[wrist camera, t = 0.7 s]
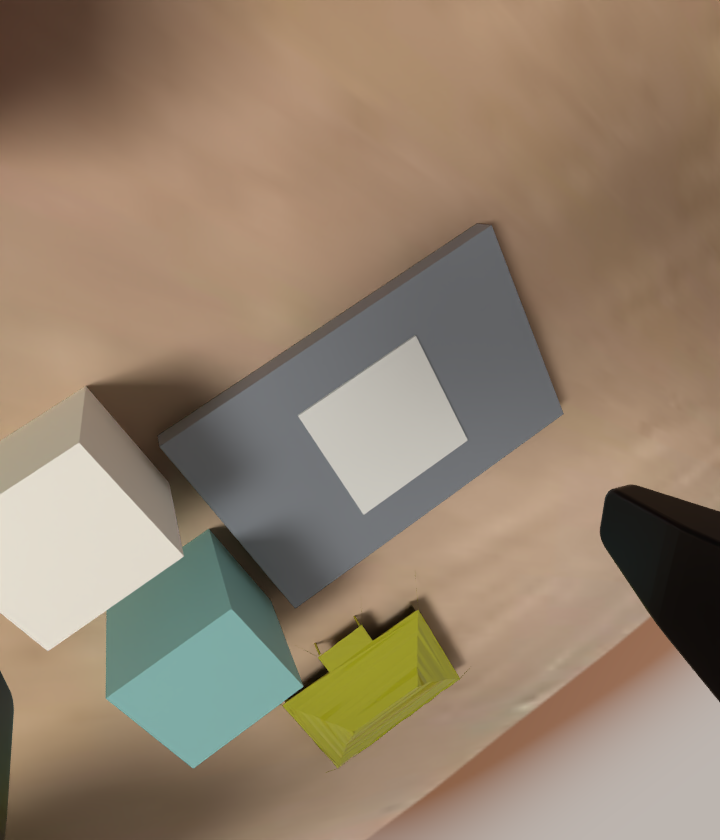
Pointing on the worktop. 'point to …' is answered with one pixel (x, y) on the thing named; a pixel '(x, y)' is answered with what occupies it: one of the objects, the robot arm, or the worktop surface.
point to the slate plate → (371, 417)
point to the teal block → (197, 653)
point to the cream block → (78, 519)
